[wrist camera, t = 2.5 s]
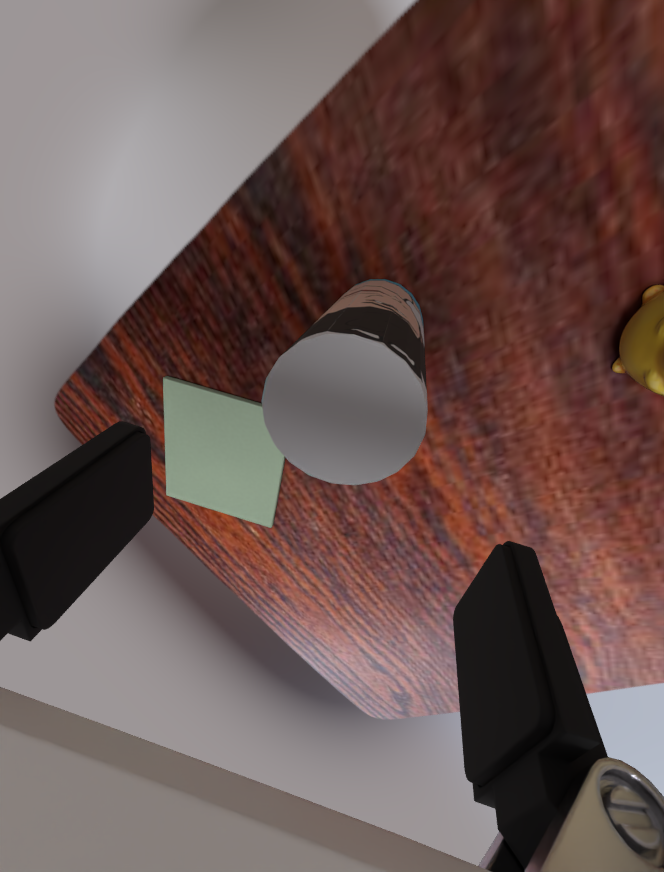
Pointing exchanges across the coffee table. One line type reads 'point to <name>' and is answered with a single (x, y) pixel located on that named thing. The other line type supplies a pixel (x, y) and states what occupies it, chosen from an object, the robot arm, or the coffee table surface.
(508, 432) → the coffee table surface
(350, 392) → the cup
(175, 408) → the mat
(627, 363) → the mug
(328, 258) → the coffee table surface
